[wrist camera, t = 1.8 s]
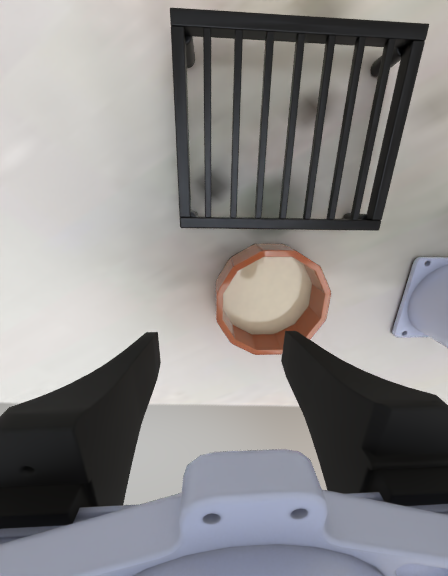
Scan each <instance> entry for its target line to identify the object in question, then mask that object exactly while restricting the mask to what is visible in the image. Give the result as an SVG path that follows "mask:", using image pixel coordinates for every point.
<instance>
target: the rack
mask: <svg viewBox="0 0 448 576" xmlns="http://www.w3.org/2000/svg"><path fill="white" fill-rule="evenodd" d="M170 19H171V40H172V62H173V83H174V105H175V126H176V148H177V169H178V191H179V212H180V227H181V228H229V229H306V230H379V228H380V224H381V221H380V220H381V219H382V216H383V212H384V208H385V203H386V199H387V195H388V191H389V187H390V183H391V179H392V175H393V170H394V166H395V162H396V158H397V154H398V150H399V146H400V142H401V138H402V133H403V129H404V125H405V121H406V117H407V113H408V109H409V105H410V100H411V96H412V92H413V88H414V84H415V80H416V76H417V72H418V68H419V63H420V59H421V55H422V51H423V47H424V43H425V39H426V36H427V31H428V27H429V24H421V23H405V22H390V21H374V20H358V19H342V18H326V17H310V16H294V15H278V14H262V13H246V12H231V11H215V10H199V9H183V8H170ZM192 36H198V37H203V45H204V145H205V217H198V214H197V213H196V212H195V211H191V196H190V163H189V130H188V97H187V67H191V66H193V64H194V62H195V55H194V46H193V38H192ZM211 37H215V38H233V39H235V47H234V86H233V125H232V164H231V203H230V217H211ZM243 39H251V40H265V55H264V72H263V88H262V105H261V121H260V138H259V154H258V171H257V187H256V204H255V218H238V217H236V214H237V185H238V156H239V127H240V98H241V69H242V40H243ZM274 41H286V42H296V44H295V55H294V65H293V76H292V86H291V97H290V107H289V118H288V128H287V138H286V149H285V159H284V170H283V180H282V191H281V201H280V212H279V218H261V215H262V200H263V186H264V172H265V158H266V143H267V129H268V115H269V101H270V86H271V72H272V58H273V44H274ZM304 43H321V44H325V52H324V60H323V67H322V75H321V83H320V90H319V98H318V106H317V114H316V121H315V129H314V137H313V144H312V152H311V160H310V167H309V175H308V183H307V191H306V198H305V206H304V214H303V219H302V218H286V213H287V203H288V194H289V184H290V175H291V165H292V156H293V146H294V137H295V127H296V118H297V108H298V99H299V89H300V80H301V70H302V61H303V51H304ZM335 44H339V45H355V48H354V54H353V60H352V66H351V73H350V79H349V85H348V91H347V97H346V103H345V109H344V115H343V121H342V128H341V134H340V140H339V146H338V152H337V158H336V164H335V170H334V176H333V183H332V189H331V195H330V201H329V207H328V213H327V219H310V217H311V210H312V202H313V195H314V188H315V181H316V174H317V167H318V160H319V153H320V145H321V138H322V131H323V124H324V117H325V110H326V103H327V96H328V88H329V81H330V74H331V67H332V60H333V53H334V46H335ZM365 46H374V47H384V49H383V54H382V56H381V57H380V58H379V59H378V60H376V61H375V62H374V63H373V65H372V67H371V73H372V75H373V76H374V77H378V80H377V85H376V90H375V95H374V100H373V105H372V110H371V115H370V120H369V125H368V130H367V135H366V140H365V145H364V151H363V156H362V161H361V166H360V171H359V176H358V181H357V186H356V191H355V196H354V201H353V206H352V211H351V213H348V214H346V215H345V216H344V218H343V219H334V218H335V212H336V207H337V201H338V195H339V190H340V184H341V178H342V172H343V167H344V161H345V155H346V150H347V144H348V138H349V132H350V127H351V121H352V115H353V110H354V104H355V98H356V92H357V87H358V81H359V75H360V69H361V64H362V58H363V52H364V47H365ZM400 60H401V61H400ZM398 61H400V66H399V70H398V75H397V79H396V84H395V88H394V93H393V97H392V102H391V106H390V111H389V116H388V120H387V125H386V129H385V134H384V138H383V143H382V147H381V152H380V156H379V161H378V166H377V170H376V175H375V179H374V184H373V188H372V193H371V197H370V202H369V207H368V211H367V214H359V213H360V208H361V204H362V199H363V194H364V189H365V184H366V180H367V175H368V170H369V165H370V161H371V156H372V151H373V146H374V141H375V137H376V132H377V127H378V122H379V118H380V113H381V108H382V103H383V98H384V94H385V89H386V84H387V79H388V74H389V70H390V68H391V67H392V66H393V65H394V64H396V63H397V62H398Z"/></svg>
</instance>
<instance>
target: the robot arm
mask: <svg viewBox="0 0 448 576" xmlns="http://www.w3.org/2000/svg"><path fill="white" fill-rule="evenodd" d="M426 261H427V263H426V264H425V262H426ZM403 331H404V332H403ZM402 332H403V333H402ZM392 334H393V335H394V336H395V337H431V338H432V339H434V340H436V341H437V342H439V343H441V344H442V345H444V346H445V347H447V348H448V257H418V258H416V259H415V260H414V262H413V266H412V269H411V272H410V275H409V279H408V282H407V285H406V288H405V292H404V295H403V298H402V301H401V305H400V308H399V311H398V314H397V318H396V321H395V324H394V327H393V331H392ZM281 361H282V364H283V368H284V371H285V374H286V377H287V380H288V382H289V384H290V386H291V388H292V391H293V393H294V395H295V397H296V399H297V401H298V404H299V406H300V408H301V410H302V412H303V415H304V417H305V420H306V423H307V425H308V428H309V431H310V434H311V437H312V440H313V443H314V447H315V449H316V453H317V456H318V459H319V462H320V466H321V469H322V473H323V476H324V480H325V483H326V486H327V490H328V491H327V490H322V489H321V487H320V484H319V481H318V479H317V476H316V473H315V471H314V468H313V466H312V463H311V461H310V459H309V458H307V457H306V456H305V455H303V454H302V453H301V452H299V451H293V450H287V449H275V450H274V449H272V450H248V451H223V452H212V453H208V454H203V455H200V456H199V457H197V458H196V459H195V460H193V461H192V462H191V463H189V464H188V465H187V467H186V470H185V473H184V477H183V487H182V493H178V494H175V495H171V496H168V497H165V498H161V499H157V500H154V501H150V502H147V503H144V504H140V505H123V503H124V498H125V493H126V488H127V484H128V479H129V474H130V470H131V465H132V461H133V456H134V452H135V447H136V444H137V440H138V436H139V431H140V428H141V424H142V421H143V418H144V415H145V412H146V409H147V406H148V404H149V401H150V398H151V395H152V392H153V390H154V387H155V384H156V381H157V377H158V373H159V368H160V363H161V362H160V351H159V341H158V332H147V333H145V334H144V335H143V336H141V337H140V338H139V339H138V340H137V341H135V342H134V343H133V344H132V345H130V346H129V347H128V348H127V349H125V350H124V351H123V352H122V353H120V354H119V355H117V356H116V357H115V358H113V359H112V360H111V361H109V362H108V363H106V364H105V365H103V366H102V367H100V368H98V369H97V370H95V371H93V372H92V373H90V374H88V375H86V376H84V377H82V378H80V379H78V380H76V381H74V382H73V383H71V384H69V385H66V386H64V387H62V388H60V389H58V390H55V391H53V392H50V393H48V394H46V395H43V396H40V397H38V398H35V399H32V400H29V401H27V402H24V403H21V404H18V405H15V406H12V407H9V408H8V409H7V410H6V411H5V412H4V413H3V414H2V415H1V416H0V576H448V405H447V404H446V403H445V402H443V401H442V400H441V399H440V398H439V397H438V396H436V395H433V394H430V393H426V392H423V391H419V390H416V389H412V388H408V387H405V386H402V385H399V384H396V383H393V382H390V381H388V380H385V379H382V378H380V377H377V376H375V375H372V374H370V373H368V372H365V371H363V370H361V369H359V368H357V367H355V366H353V365H351V364H349V363H347V362H345V361H343V360H341V359H339V358H338V357H336V356H334V355H332V354H331V353H329V352H327V351H326V350H324V349H323V348H321V347H320V346H318V345H317V344H315V343H314V342H312V341H311V340H309V339H308V338H306V337H305V336H303V335H302V334H300V333H299V332H297V331H285V336H284V344H283V352H282V360H281Z"/></svg>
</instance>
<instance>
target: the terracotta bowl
mask: <svg viewBox="0 0 448 576" xmlns="http://www.w3.org/2000/svg"><path fill="white" fill-rule="evenodd" d="M330 297H331V291H330V288H329V286H328V283H327V281H326V278H325V276H324V274H323V271H322V269H321V267H320V266H319V265H317V264H316V263H314V262H313V261H311V260H310V259H308V258H306V257H305V256H303V255H302V254H300V253H299V252H297V251H295V250H294V249H292V248H290V247H288V246H287V245H285V244H254V245H252V246H250V247H248V248H246V249H245V250H243V251H241V252H239V253H237V254H236V255H234V256H232V257H231V258H230V259H229V260H228V262H227V264H226V265H225V267H224V268H223V270H222V272H221V273H220V275H219V277H218V278H217V280H216V320H217V322H218V324H219V326H220V327H221V329H222V330H223V332H224V333H225V335H226V336H227V338H228V340H229V341H230V342H231V343H232V344H234V345H236V346H238V347H240V348H242V349H244V350H246V351H248V352H250V353H252V354H255V355H271V354H282V352H283V344H284V336H285V331H297V332H299V333H300V334H302V335H303V336H305V337H306V338H308V339H309V340H310V339H311V338H312V337H313V335H314V334H315V333H316V332H317V331H318V329H319V328H320V327H321V326H322V324H323V323H324V322H325V321H326V318H327V313H328V307H329V302H330Z"/></svg>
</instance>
